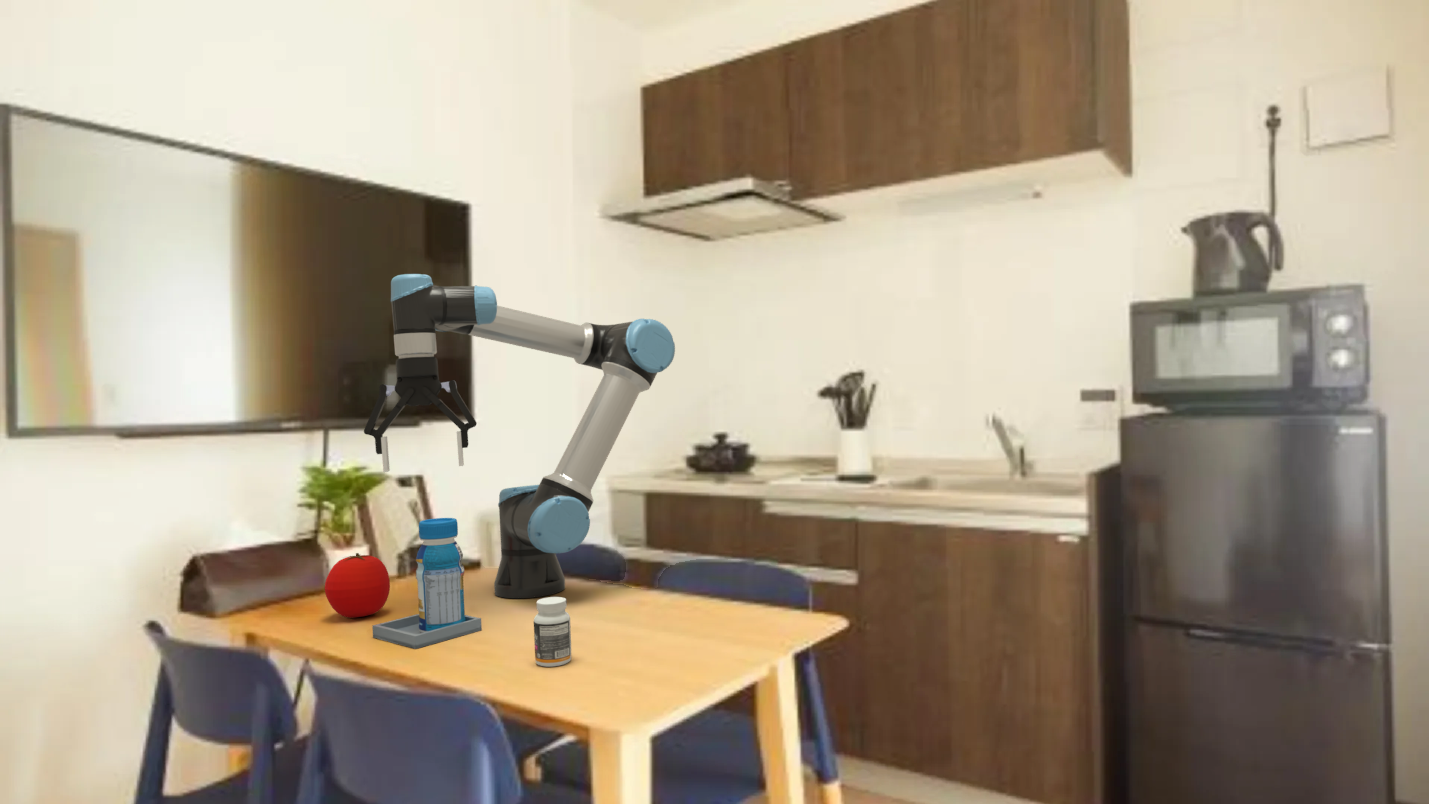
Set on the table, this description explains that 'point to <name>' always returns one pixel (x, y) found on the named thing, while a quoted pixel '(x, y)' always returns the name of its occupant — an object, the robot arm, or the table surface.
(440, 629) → the tray
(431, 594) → the beverage bottle
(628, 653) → the table surface
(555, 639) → the pill bottle
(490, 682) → the table surface
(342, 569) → the tomato
